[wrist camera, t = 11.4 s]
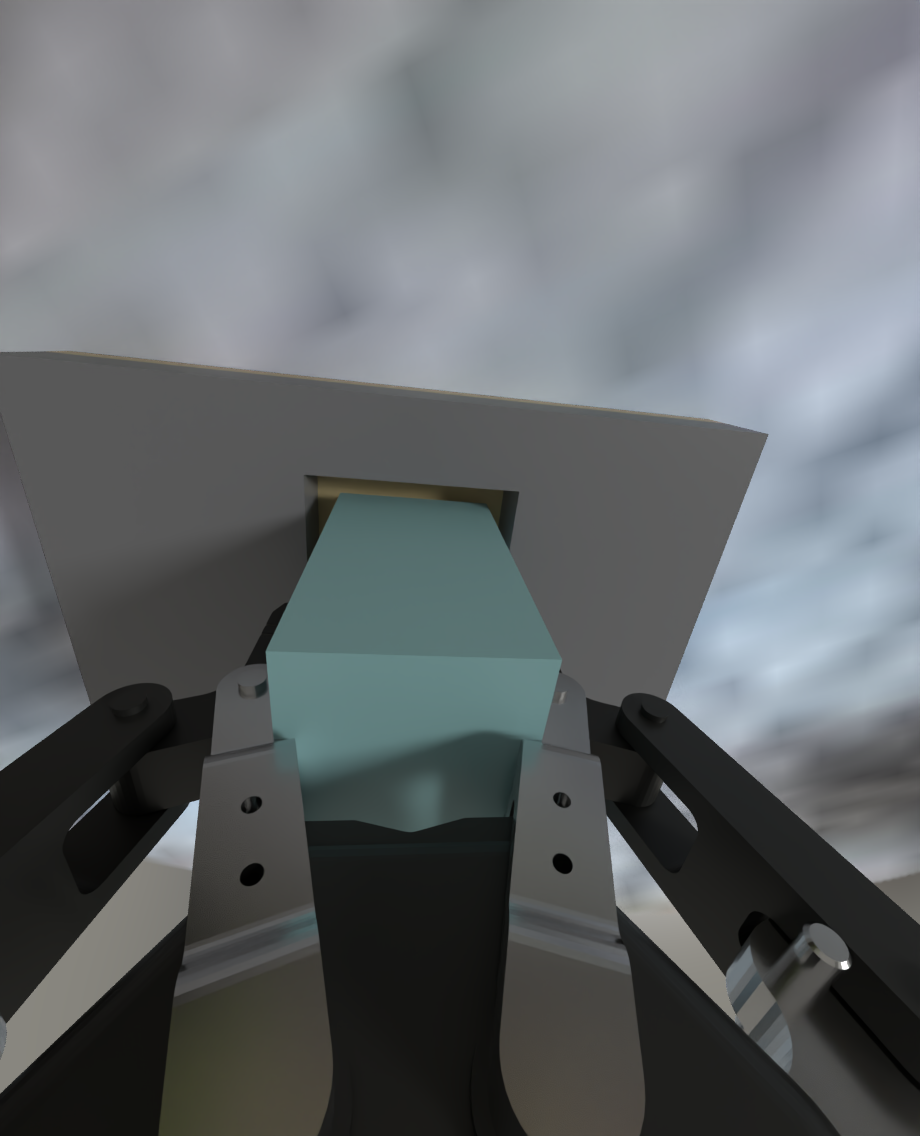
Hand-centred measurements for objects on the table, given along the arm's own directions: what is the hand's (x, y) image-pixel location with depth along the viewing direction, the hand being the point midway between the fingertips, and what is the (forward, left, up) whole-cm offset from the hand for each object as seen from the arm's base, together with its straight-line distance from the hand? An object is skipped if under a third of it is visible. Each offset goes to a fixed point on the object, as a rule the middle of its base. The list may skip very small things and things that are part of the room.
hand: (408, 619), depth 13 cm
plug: (0, 0, -2) cm, 2 cm away
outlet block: (0, 0, -4) cm, 4 cm away
